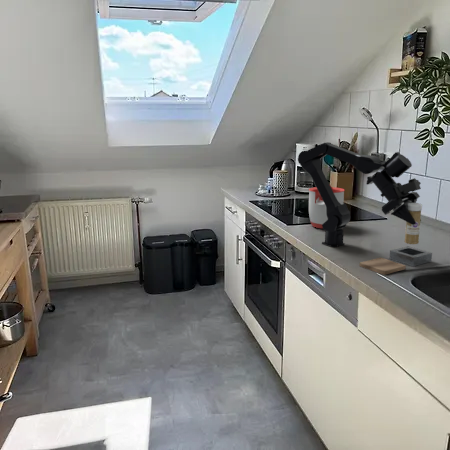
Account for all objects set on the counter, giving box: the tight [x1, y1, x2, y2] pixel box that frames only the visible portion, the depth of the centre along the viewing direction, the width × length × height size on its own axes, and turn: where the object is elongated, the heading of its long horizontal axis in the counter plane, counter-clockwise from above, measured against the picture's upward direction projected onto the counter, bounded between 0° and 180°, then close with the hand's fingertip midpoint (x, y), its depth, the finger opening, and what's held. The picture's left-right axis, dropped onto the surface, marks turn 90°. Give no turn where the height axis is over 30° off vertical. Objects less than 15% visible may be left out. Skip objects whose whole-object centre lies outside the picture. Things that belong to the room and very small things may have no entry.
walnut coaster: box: [358, 256, 407, 276], centre depth 138 cm, size 10×10×1 cm
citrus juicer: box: [308, 183, 345, 229], centre depth 190 cm, size 16×17×20 cm
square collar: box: [388, 245, 433, 267], centre depth 145 cm, size 9×9×3 cm
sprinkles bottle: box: [404, 202, 423, 245], centre depth 143 cm, size 5×5×13 cm
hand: (417, 222), depth 141 cm, fingers closed on sprinkles bottle, 4 cm apart
